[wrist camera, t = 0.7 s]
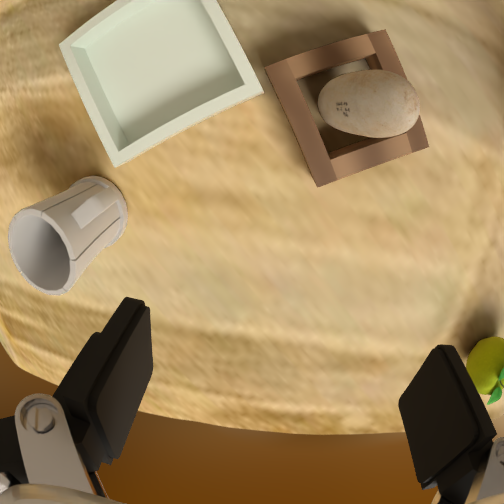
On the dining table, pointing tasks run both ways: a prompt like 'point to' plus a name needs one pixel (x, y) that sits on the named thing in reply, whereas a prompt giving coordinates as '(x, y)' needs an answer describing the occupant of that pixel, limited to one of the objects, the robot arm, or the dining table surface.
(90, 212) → the cup
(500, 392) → the fruit
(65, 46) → the tray
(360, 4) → the dining table surface
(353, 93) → the stone
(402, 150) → the pocket frame
